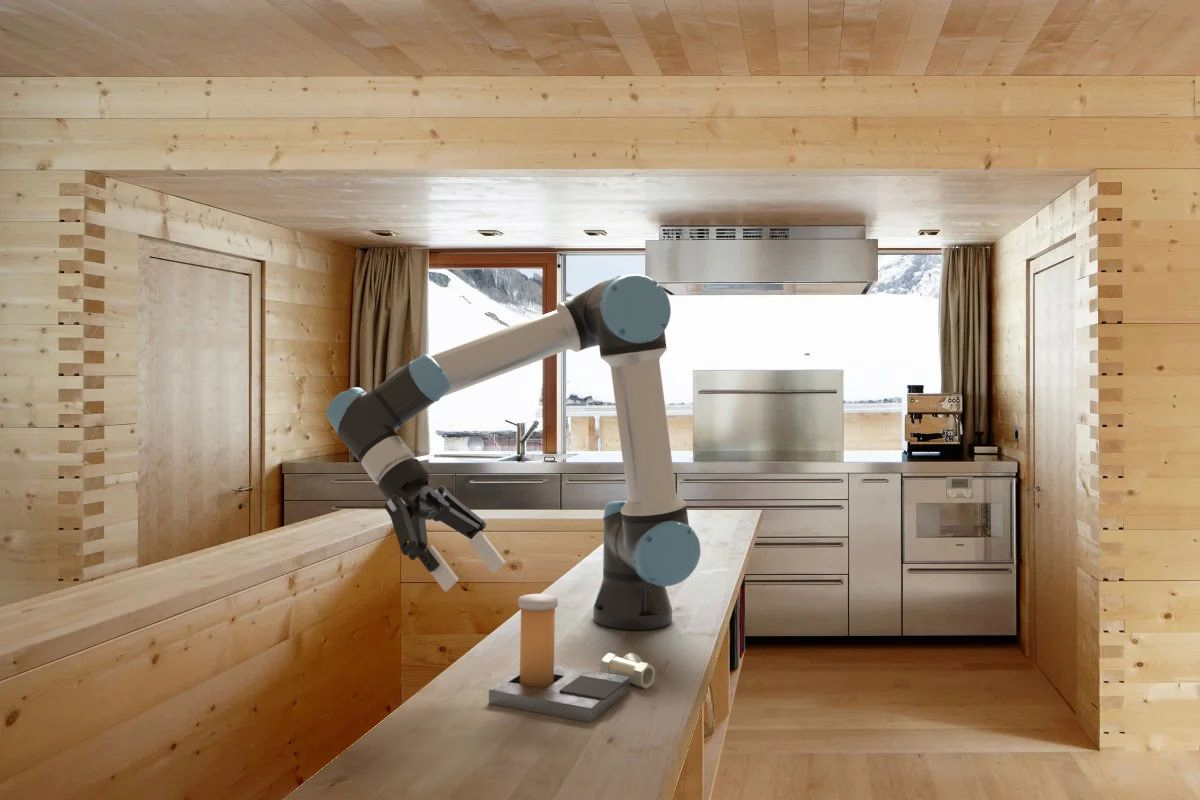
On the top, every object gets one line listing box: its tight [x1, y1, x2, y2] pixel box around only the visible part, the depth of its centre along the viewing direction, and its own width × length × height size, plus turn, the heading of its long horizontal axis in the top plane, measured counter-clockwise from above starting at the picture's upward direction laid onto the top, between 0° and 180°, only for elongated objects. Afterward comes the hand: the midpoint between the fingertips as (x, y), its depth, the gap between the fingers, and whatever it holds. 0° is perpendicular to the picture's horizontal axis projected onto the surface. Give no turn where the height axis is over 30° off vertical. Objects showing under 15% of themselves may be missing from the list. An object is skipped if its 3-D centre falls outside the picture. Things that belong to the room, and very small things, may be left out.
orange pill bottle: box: [517, 593, 559, 689], centre depth 135 cm, size 6×6×14 cm
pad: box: [559, 675, 624, 700], centre depth 131 cm, size 7×7×1 cm
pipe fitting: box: [599, 652, 656, 689], centre depth 142 cm, size 8×4×7 cm
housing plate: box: [488, 664, 631, 723], centre depth 134 cm, size 14×16×2 cm
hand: (476, 576), depth 139 cm, fingers open, 13 cm apart
